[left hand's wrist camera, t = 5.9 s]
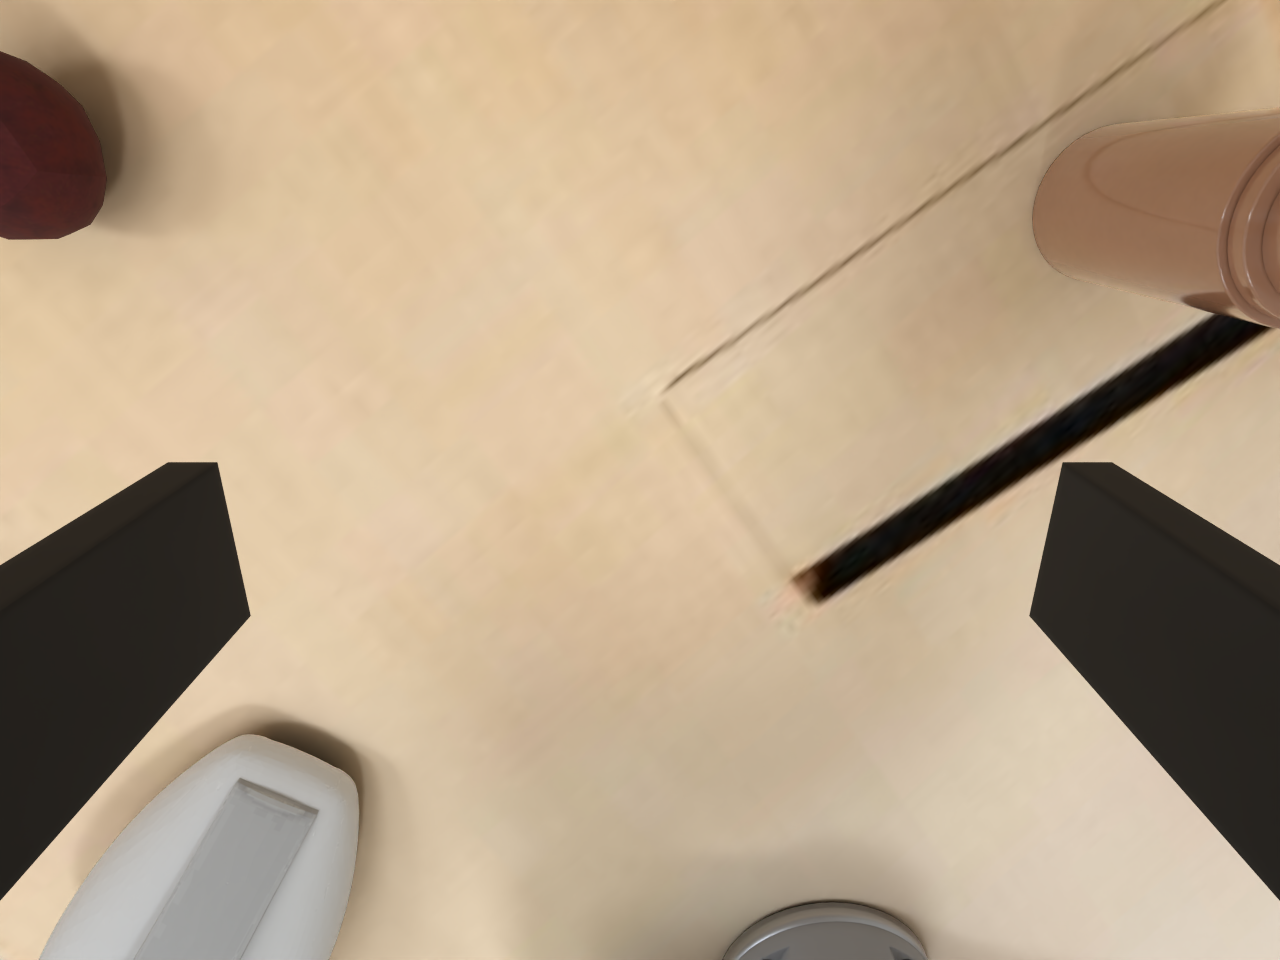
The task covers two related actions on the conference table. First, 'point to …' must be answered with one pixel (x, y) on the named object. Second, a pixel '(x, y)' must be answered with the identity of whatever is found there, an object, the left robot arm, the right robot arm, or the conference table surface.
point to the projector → (224, 865)
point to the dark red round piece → (45, 157)
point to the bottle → (1171, 211)
